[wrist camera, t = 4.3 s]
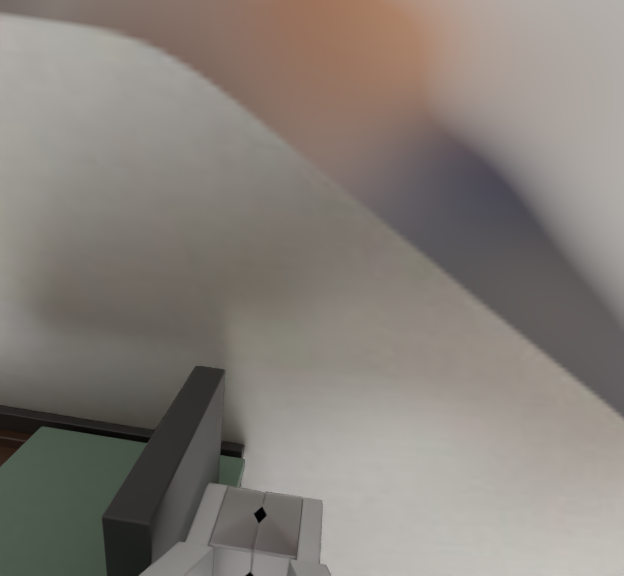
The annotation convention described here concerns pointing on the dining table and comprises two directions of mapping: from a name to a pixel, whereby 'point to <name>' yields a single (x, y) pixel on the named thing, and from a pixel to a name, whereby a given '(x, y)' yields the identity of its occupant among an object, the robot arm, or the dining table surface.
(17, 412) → the cabinet
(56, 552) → the door
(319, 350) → the dining table surface
